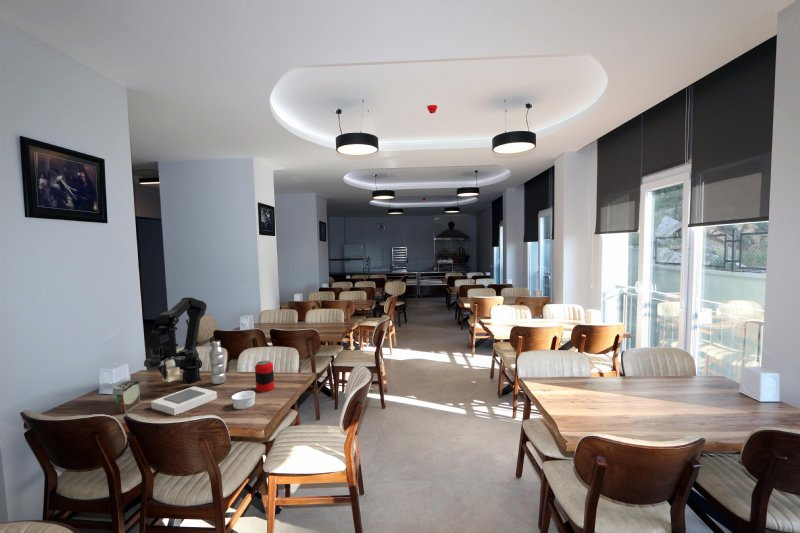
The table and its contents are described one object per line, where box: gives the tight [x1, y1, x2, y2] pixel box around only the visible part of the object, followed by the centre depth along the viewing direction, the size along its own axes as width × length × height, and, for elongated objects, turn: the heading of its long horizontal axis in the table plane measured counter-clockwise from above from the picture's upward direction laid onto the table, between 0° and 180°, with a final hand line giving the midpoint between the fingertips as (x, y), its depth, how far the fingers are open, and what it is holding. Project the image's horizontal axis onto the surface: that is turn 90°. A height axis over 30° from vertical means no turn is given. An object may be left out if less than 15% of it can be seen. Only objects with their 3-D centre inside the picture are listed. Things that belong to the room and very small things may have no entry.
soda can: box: [254, 360, 275, 393], centre depth 171 cm, size 8×8×12 cm
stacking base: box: [150, 386, 218, 416], centre depth 159 cm, size 18×16×3 cm
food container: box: [112, 378, 141, 414], centre depth 155 cm, size 12×6×10 cm, turn 5°
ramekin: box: [231, 390, 256, 410], centre depth 154 cm, size 9×9×4 cm
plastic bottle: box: [208, 340, 227, 385], centre depth 180 cm, size 6×7×20 cm
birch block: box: [161, 365, 181, 383], centre depth 170 cm, size 5×5×5 cm
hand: (171, 377), depth 170 cm, fingers closed on birch block, 5 cm apart
